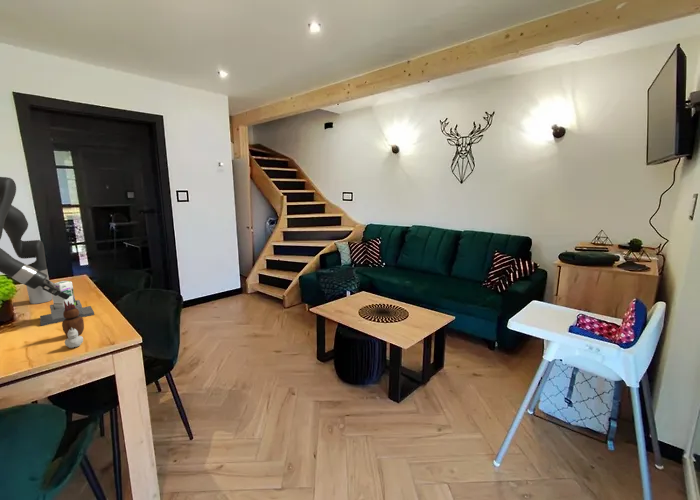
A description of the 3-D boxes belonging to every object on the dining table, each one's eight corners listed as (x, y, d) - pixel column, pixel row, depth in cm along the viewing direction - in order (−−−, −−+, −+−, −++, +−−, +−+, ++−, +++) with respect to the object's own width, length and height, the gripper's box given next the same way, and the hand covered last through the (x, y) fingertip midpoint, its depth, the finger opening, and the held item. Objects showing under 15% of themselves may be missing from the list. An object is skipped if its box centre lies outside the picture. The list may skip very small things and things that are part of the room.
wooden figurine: (67, 339, 134) (61, 303, 131) (62, 336, 137) (55, 301, 134) (87, 333, 140) (82, 298, 137) (81, 330, 143) (76, 296, 140)
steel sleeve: (40, 318, 158) (38, 306, 157) (90, 308, 171) (89, 297, 170) (40, 326, 149) (38, 313, 148) (94, 314, 161) (92, 303, 160)
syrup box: (65, 314, 156) (60, 284, 153) (54, 313, 157) (49, 283, 154) (77, 310, 161) (72, 280, 159) (67, 309, 162) (62, 280, 160)
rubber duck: (65, 351, 124) (61, 331, 123) (66, 345, 129) (62, 325, 128) (84, 347, 127) (80, 327, 126) (83, 341, 132) (80, 321, 131)
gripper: (36, 272, 145) (75, 292, 155) (36, 267, 156) (72, 286, 165) (22, 286, 143) (62, 306, 152) (22, 280, 153) (60, 299, 163)
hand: (67, 295), depth 159 cm, fingers closed on syrup box, 7 cm apart
